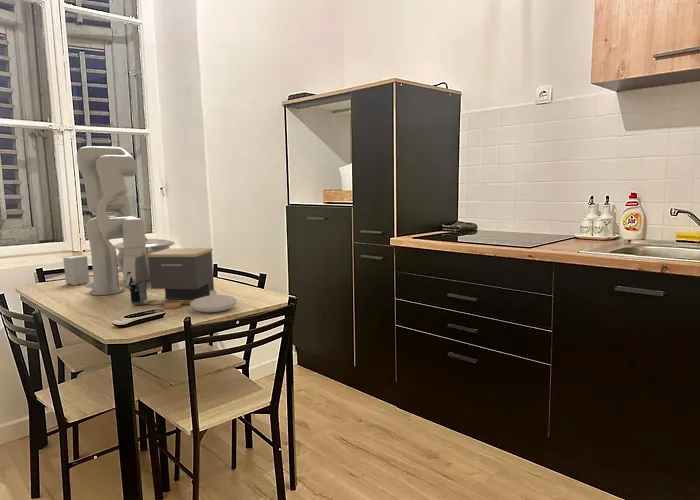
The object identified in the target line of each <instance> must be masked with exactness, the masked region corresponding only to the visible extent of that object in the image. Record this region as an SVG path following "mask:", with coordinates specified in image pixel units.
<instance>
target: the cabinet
mask: <svg viewBox="0 0 700 500" xmlns="http://www.w3.org/2000/svg"><path fill="white" fill-rule="evenodd" d="M212 252H213V248H212V247H211V248H210V247H209V248H208V247H207V248H201V247H200V248H199V247H198V248H196V247H195V248H193V247H192V248H187V247H186V248H169V249H165V250H161V251H157V252H154V253H150V254H147V257H149V269H150V289H152V290H154V289H155V290H164V294H165V295H164V296H165V299H188V300H195V299H197V298H201V297H205V296H209V295H210V291H211V290H215V288H214V287H215V285H214V269H213V268H214V266H213V253H212Z"/></svg>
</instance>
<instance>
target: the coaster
mask: <svg viewBox="0 0 700 500" xmlns="http://www.w3.org/2000/svg"><path fill="white" fill-rule="evenodd" d="M181 308H182V304H181V301H167V302H165V303H164V304H163V309H164V310H166V311H167V310H169V311H170V310H178V309H181Z"/></svg>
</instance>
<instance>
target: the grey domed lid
mask: <svg viewBox="0 0 700 500" xmlns="http://www.w3.org/2000/svg"><path fill="white" fill-rule="evenodd" d="M192 300H193V301H192V302H191V304H189V305H190V307H191V309H192V310H195V311H197V312H200V313H220V312H224V311H228V310H229V309H231V308H232V307H234V306H235V305H236V304H237V298H235V297H234V296H232V295H225V294H224V295H223V294H218V293H217V290H216V289H214V290H211V291H210V295H209V296H205V297H201V298H197V299H192Z"/></svg>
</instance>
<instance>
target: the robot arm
mask: <svg viewBox="0 0 700 500" xmlns="http://www.w3.org/2000/svg"><path fill="white" fill-rule="evenodd" d="M76 163H77V168H78V169H79V172H80V175H81V176H82V178H83V183H84V191H85V197H86V199H85V200H86V205H87V208H88V211H89V212H90V213H92V214H96V217H93V218H90V219H88V220H87V222H86V224H85V230H86V235H87V238H88V241H89V247H90V256H91V257H90V258H91V266H92V275H93V276H92V279H93V281H91V282H89V283H86V286H85V287H86V288H87V289H88V288H89V289H90V288H91V290H89V292H90V295H93V296H108V295H109V296H110V295H114V294H118V293H121V292H123V291H124V290H125V288H124V287H123V286H120V279H119V266H118V263H117V255H118V253H117V249H116V248H115V247H114V246H113V245H114V244H113V243H112V242H110V240H117V239H122V242H123V245H124V256H125V257H124V262H123V273H122V275H123V282H124V284H125V287H126V288H128V289H129V293H130V300H131V302H140V293H139V291H138V283H139V282H142V281H146V289H147V288H148V287H147V286H148V284H147V283H148V279H149V269H148V262H147V257H146V242H145V237H146V233H145V232H146V231H145V221H144V219H143V218H140V217H136V216H132V212H131V205H130V203H131V202H130V199H129V196H128V187H127V184H126V181H125V177H126V178H129V177H130V178H131V177H134V176H136V174H137V169H138V168H137V167H138V166H137V162H136V160H135V158H134V157H133V156H132V155H131V154H130V153H129V152H127V150H125V149H124V148H122V147H118V146H117V147H116V146H95V145H93V146H92V145H90V146H88V145H87V146H83V147H80V148H79V149H78V150H77V152H76ZM108 214H116V215H114V216H113V215H111V216H109V215H108ZM132 282H134V283H132ZM134 285H135V286H134Z"/></svg>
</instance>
